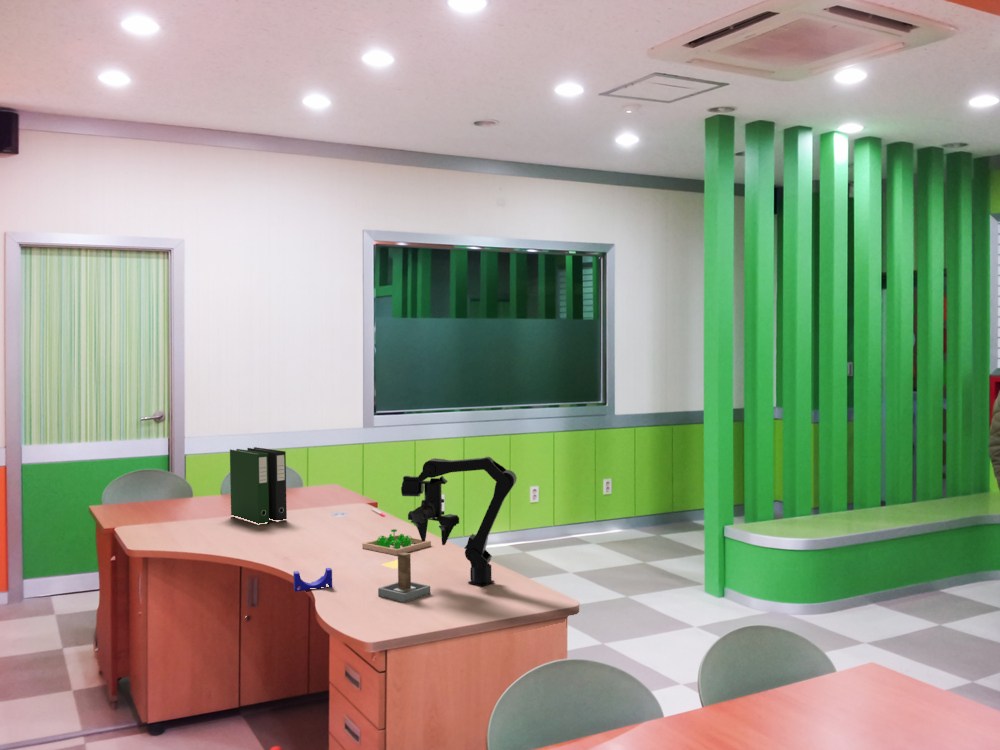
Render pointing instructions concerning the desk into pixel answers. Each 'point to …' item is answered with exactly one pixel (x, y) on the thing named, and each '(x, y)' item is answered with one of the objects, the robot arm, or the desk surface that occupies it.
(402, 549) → the shallow wooden tray
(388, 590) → the tray
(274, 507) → the binder
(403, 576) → the wooden post on base
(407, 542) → the green leafy plants
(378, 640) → the desk surface
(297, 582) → the cable clip
